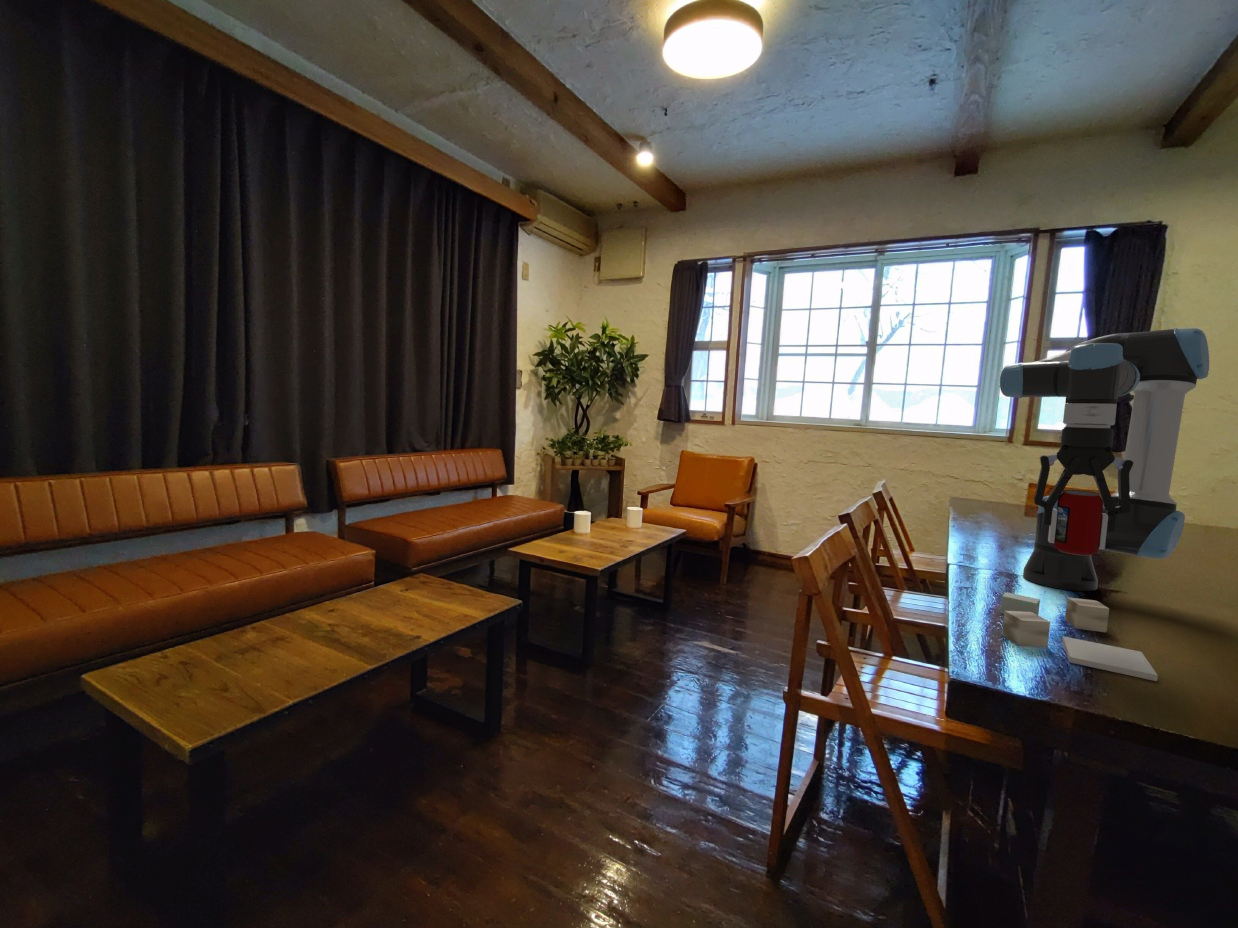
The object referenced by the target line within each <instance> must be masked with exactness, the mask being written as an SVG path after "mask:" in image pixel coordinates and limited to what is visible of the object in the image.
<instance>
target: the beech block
mask: <svg viewBox="0 0 1238 928" xmlns="http://www.w3.org/2000/svg"><path fill="white" fill-rule="evenodd" d="M1065 608H1066V609H1065V617H1064V621H1065V622H1067V623H1068V624H1069V625H1071V626H1072V627H1074V628H1075V629H1076V630H1077V629H1078V630H1083V631H1084V630H1085V631H1092V632H1100V633H1101V632H1102V633H1107V632H1108V622H1109V615H1110V608H1109V607H1107V606H1106V605H1104V604H1103V603H1102V602H1100V601H1098V600H1093V599H1087V598H1086V599H1084V598H1077V597H1075V598H1074V597H1068V596H1067V598H1066V607H1065Z"/></svg>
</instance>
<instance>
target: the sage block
mask: <svg viewBox="0 0 1238 928" xmlns="http://www.w3.org/2000/svg"><path fill="white" fill-rule="evenodd" d="M1040 603H1041V599H1039V598H1035V597H1030V596H1025V595H1022V594H1016V593H1013V592H1012V593H1011V592H1009V591H1008V592H1005V593H1003V595H1002V596H1001V605H1000V606H1001V607H1000V614H1002V615H1004V611H1020V612H1032V613H1034V614H1036V615H1038V616H1039V614H1040V613H1039V612H1040V605H1041V604H1040Z"/></svg>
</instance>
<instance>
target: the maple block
mask: <svg viewBox="0 0 1238 928" xmlns="http://www.w3.org/2000/svg"><path fill="white" fill-rule="evenodd" d="M1050 628H1051V621H1049V620H1048V619H1046V618H1044V617H1042V616H1040V615H1039V614H1038V615H1036V614H1034V613H1032V612H1020V611H1004V614H1003V623H1002V637H1005V638H1006V639H1007V640H1009V641H1010V642H1012V643H1014V644H1015V645H1017V646H1018V647H1030V648H1044V649H1045V648H1046V649H1047V648H1048V646H1049V637H1050Z"/></svg>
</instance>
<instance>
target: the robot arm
mask: <svg viewBox="0 0 1238 928" xmlns="http://www.w3.org/2000/svg"><path fill="white" fill-rule="evenodd" d="M1209 352H1210V351H1209V344H1208V340H1207V336H1206V333H1205V332H1204V331H1203V330H1202V329H1199V328H1195V327H1193V328H1191V327H1190V328H1177V327H1176V328H1175V327H1174V328H1170V329H1157V330H1147V331H1137V332H1135V331H1134V332H1133V331H1132V332H1120V333H1112V334H1107V335H1103V336H1099V337H1096V338H1095V337H1094V338H1092V339H1089V340H1085V341H1082V342H1080V343H1076V344H1074V345H1072V346H1070V347H1068V348H1067V349H1066V350H1065V351H1064V352H1062V353H1059V354H1055V355H1052V356H1050V357H1046V358H1042V359H1040V360H1037V361H1033V362H1032V361H1031V362H1019V363H1009V364H1007V365H1005V366H1004V367H1003V368H1002V371H1001V373H1000V377H999V388H1000V392H1001V394H1002V395H1003V396H1005V397H1008V398H1019V399H1022V398H1054V397H1055V398H1056V397H1057V398H1065V401H1064V410H1063V419H1062V423H1063V424H1064V425H1066V426H1064V427H1063V428H1062V429H1061V436H1060V437H1061V438H1060V448H1059V449H1058V451H1057V452H1056V454H1050V455H1049V454H1048V455H1045V454H1042V455H1040V456H1039V463H1040V466H1041V467H1040V471H1039V475H1038V480H1037V484H1036V488H1035V492H1034V497H1033V503H1034V504H1035V505H1036V506H1038V509H1037V512H1036V514H1037V516H1036V526H1035V535H1034V536H1035V538H1034V547H1033V551H1032V552H1031V554H1030V556H1029V558H1028V559H1027V562H1026V563H1025V565H1024V568H1023V573H1022V577H1023V579H1026V580H1027V581H1029V582H1032V583H1035V584H1038V585H1041V586H1046V587H1049V588H1054V589H1059V590H1060V589H1061V590H1067V591H1076V592H1092V591H1093V592H1094V591H1096V590H1098V584H1099V580H1098V576H1097V574H1096V570H1095V566H1094V563H1093V559H1092V555H1093V554H1091V555H1090V556H1081V555H1073V554H1067V553H1063V552H1061V551H1059V550H1058V549H1057V548H1055V547H1054V546H1053V543H1054V541H1055V531H1056V521H1057V512H1058V511H1057V502H1058V498H1059V497H1060V495H1061V494H1062V493H1063V490H1065V488H1066V486H1067V485H1068V483H1069V481H1070V480H1071V478H1072V477H1073V475H1075V476H1080V475H1084V476H1089V477H1090V476H1091V477H1093V479H1094V482H1095V484H1096V488H1097V490H1098V493H1099V496H1100V497H1101V499H1102V501H1103V511H1102V521H1101V530H1100V538H1099V546H1098V550H1101V551H1107V552H1112V553H1118V554H1119V553H1120V554H1123V555H1128V556H1129V555H1130V556H1135V557H1138V558H1149V559H1157V560H1162V559H1166V558H1168V557H1170V556H1171V555H1172V553H1173V552H1174V550H1175V549H1176V547H1177V545H1178V544H1179V541H1180V538H1181V536H1182V534H1183V533H1182V532H1183V530H1184V525H1185V520H1186V516H1185V513H1184V512H1182V511H1180V510H1177V504H1178V503H1177V502H1176V501H1175V500H1174V499H1173V498H1171V496H1170V490H1171V484H1172V477H1173V471H1174V467H1175V466H1174V465H1175V459H1176V452H1177V446H1178V441H1179V433H1180V427H1181V422H1182V417H1183V416H1182V415H1183V409H1184V404H1185V399H1186V398H1185V397H1186V394H1187V393H1188V392H1190V391H1192V390H1193V389H1195V388H1196V387H1197V382H1198V379H1199V380H1203V379H1206V378H1207V377H1208V376H1209V370H1210V354H1209ZM1131 392H1133V393H1134V395H1133V400H1132V401H1133V402H1132V407H1131V408H1132V409H1131V415H1130V418H1129V427H1128V432H1127V439H1126V445H1125V451H1124V458H1121V457H1116V456H1115V454H1114V453H1113V444H1114V437H1115V436H1114V435H1115V430H1114V428H1111V426H1114V425H1115V424H1116V417H1117V416H1116V415H1117V406H1118V398H1119V397H1123V396H1125V395H1128V394H1130V393H1131ZM1057 460H1058V462H1059V463H1060V464H1061V466H1062V467H1063V468H1064V469H1063V471H1062V472H1061V474H1060V476H1059V478H1058V480H1057V481H1056V483H1055V485H1054V487H1053V488H1052V490H1051V492H1050V494H1049V495H1046V496H1044V495H1045V492H1046V487H1047V483H1048V479H1049V475H1050V470H1051V467H1052V466H1054V465H1055V462H1056V461H1057ZM1111 464H1114V468H1115V470H1117V487H1118V488H1117V491H1116V492H1114V493H1112V494H1111V492H1110V489H1109V486H1108V484H1107V480H1106V477H1105V474H1104V472H1103V471H1104V470H1105V469H1107V468H1108V467H1109V466H1110V465H1111Z"/></svg>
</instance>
